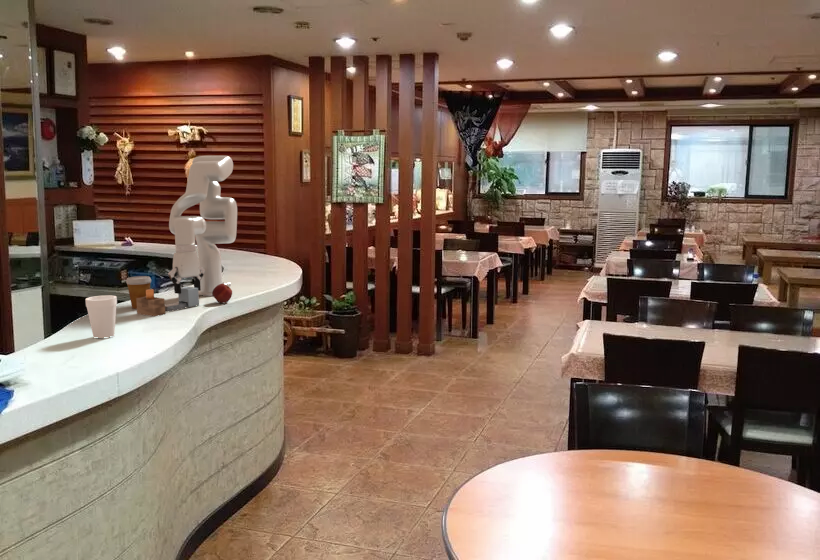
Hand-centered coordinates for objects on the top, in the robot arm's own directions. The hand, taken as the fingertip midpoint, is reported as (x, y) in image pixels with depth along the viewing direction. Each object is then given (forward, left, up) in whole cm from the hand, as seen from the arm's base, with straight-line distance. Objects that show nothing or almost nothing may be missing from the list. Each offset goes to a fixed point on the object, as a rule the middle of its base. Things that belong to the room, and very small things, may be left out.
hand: (187, 291), depth 294 cm
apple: (-13, +6, -6) cm, 15 cm away
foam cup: (+50, +19, -6) cm, 54 cm away
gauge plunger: (+17, 0, 0) cm, 18 cm away
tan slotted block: (+17, 0, -6) cm, 19 cm away
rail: (+3, 0, -6) cm, 7 cm away
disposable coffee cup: (+11, -15, -6) cm, 20 cm away
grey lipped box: (0, 0, -6) cm, 6 cm away
